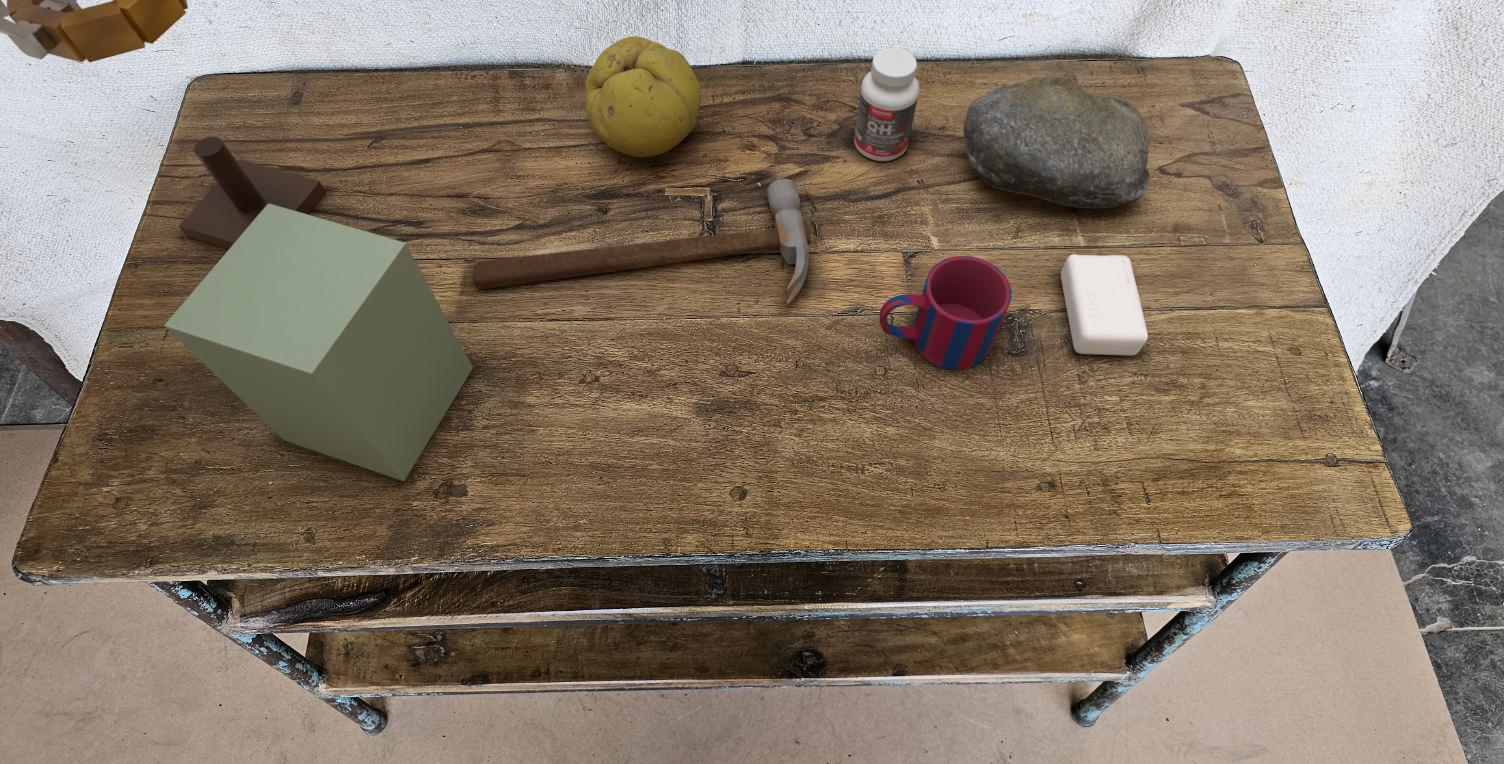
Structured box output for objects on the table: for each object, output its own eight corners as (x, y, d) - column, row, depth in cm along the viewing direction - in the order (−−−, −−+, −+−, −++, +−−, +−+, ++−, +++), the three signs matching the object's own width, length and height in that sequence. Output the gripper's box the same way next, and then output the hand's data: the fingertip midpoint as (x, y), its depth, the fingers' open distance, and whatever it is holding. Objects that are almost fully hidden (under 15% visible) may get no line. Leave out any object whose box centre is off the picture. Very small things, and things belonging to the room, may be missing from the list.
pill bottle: (861, 167, 83) (873, 85, 74) (847, 129, 85) (857, 46, 77) (915, 159, 83) (932, 76, 75) (899, 121, 86) (914, 38, 78)
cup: (996, 370, 71) (1017, 323, 65) (876, 370, 71) (886, 323, 65) (985, 305, 74) (1004, 255, 68) (870, 305, 74) (880, 255, 68)
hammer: (471, 216, 77) (799, 176, 78) (481, 237, 79) (799, 198, 81) (467, 330, 70) (824, 284, 72) (477, 348, 73) (823, 304, 74)
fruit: (701, 96, 88) (696, 11, 79) (707, 180, 82) (701, 96, 73) (594, 102, 88) (576, 17, 79) (591, 187, 82) (572, 104, 73)
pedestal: (404, 481, 66) (311, 373, 52) (283, 440, 68) (163, 325, 54) (473, 367, 71) (406, 242, 57) (359, 332, 73) (268, 202, 59)
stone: (1098, 138, 87) (1147, 54, 79) (1139, 233, 80) (1197, 151, 72) (941, 131, 85) (975, 43, 77) (969, 227, 78) (1010, 142, 69)
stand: (269, 262, 77) (218, 196, 70) (187, 237, 79) (128, 170, 71) (326, 192, 81) (284, 123, 74) (247, 169, 83) (198, 100, 76)
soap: (1138, 359, 71) (1152, 339, 69) (1072, 356, 71) (1084, 336, 69) (1119, 274, 76) (1131, 252, 73) (1057, 272, 76) (1067, 250, 73)
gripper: (-19, -269, 52) (124, -56, 64) (-333, -89, 43) (-95, 124, 54) (63, -254, 51) (193, -39, 63) (-240, -65, 41) (-18, 147, 53)
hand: (58, 38), depth 59 cm, fingers closed
